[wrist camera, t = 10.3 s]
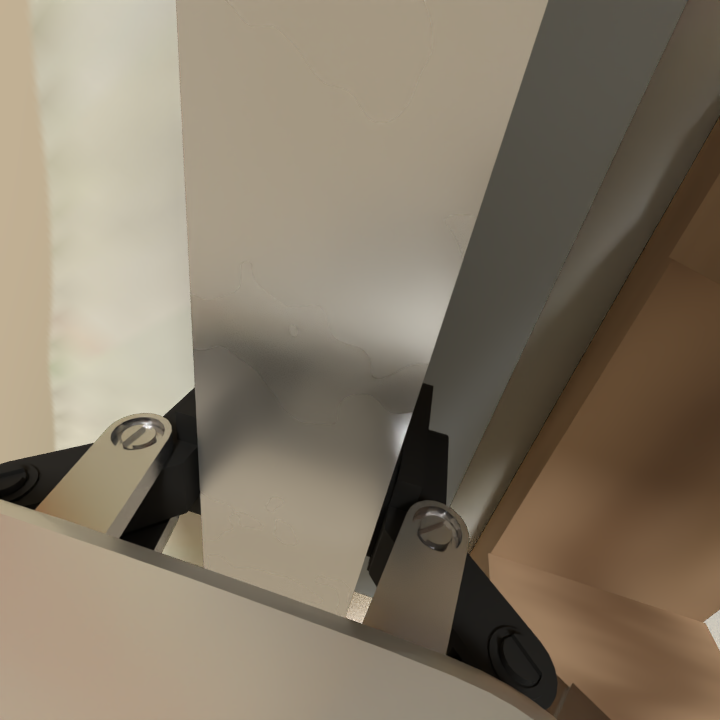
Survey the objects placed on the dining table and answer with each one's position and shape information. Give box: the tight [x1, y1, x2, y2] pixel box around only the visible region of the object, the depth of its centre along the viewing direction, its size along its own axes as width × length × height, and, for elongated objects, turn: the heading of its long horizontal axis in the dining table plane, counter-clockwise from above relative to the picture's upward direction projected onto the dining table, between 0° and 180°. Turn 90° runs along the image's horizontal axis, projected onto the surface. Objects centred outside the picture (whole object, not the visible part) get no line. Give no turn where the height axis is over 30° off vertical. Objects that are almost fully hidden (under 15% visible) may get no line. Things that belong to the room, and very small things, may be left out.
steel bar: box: [176, 0, 548, 618], centre depth 10 cm, size 4×22×3 cm, turn 169°
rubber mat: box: [354, 0, 688, 598], centre depth 14 cm, size 10×26×1 cm, turn 169°
